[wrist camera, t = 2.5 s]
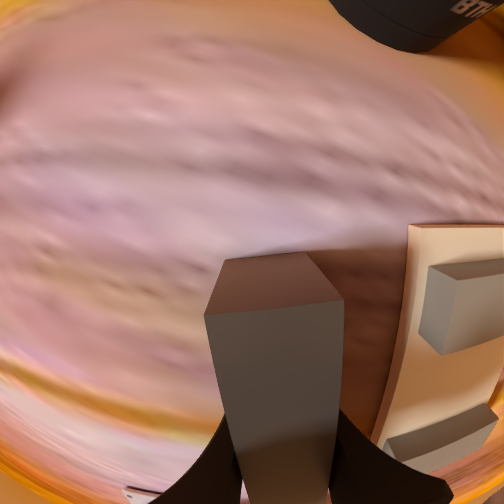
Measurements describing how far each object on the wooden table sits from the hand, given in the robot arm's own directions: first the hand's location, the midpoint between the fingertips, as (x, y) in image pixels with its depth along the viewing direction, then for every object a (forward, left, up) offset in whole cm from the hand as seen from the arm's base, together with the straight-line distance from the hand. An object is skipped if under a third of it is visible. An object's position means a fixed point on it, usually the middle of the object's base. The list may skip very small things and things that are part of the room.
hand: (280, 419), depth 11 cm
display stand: (0, -10, -1) cm, 10 cm away
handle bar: (0, 0, -2) cm, 2 cm away
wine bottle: (+19, -6, -2) cm, 20 cm away
